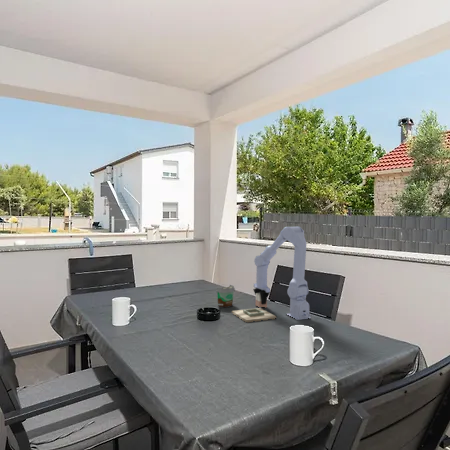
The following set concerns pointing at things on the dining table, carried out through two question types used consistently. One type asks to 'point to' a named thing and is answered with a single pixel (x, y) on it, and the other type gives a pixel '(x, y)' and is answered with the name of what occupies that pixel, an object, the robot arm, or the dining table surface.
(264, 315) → the board
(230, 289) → the food container
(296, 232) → the robot arm
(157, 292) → the dining table surface
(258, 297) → the white brown rectangular block
